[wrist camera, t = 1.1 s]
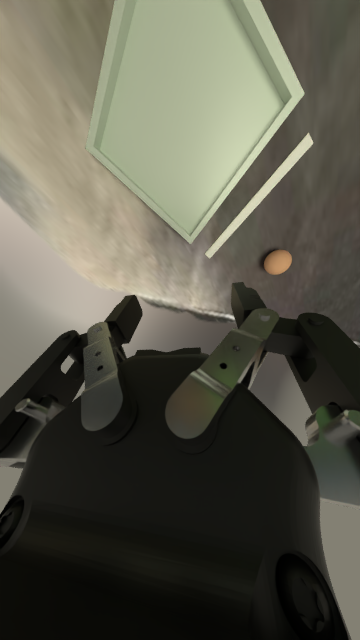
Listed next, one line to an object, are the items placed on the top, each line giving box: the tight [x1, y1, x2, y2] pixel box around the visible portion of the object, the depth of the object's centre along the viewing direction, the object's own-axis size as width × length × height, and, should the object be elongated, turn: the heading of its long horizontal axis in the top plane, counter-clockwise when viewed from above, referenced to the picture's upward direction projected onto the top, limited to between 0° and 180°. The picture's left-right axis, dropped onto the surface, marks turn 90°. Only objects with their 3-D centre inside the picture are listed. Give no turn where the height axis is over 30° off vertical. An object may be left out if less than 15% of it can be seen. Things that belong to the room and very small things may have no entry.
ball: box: [264, 250, 292, 275], centre depth 31 cm, size 5×5×5 cm
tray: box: [85, 0, 305, 244], centre depth 22 cm, size 22×22×3 cm
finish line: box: [205, 133, 313, 258], centre depth 28 cm, size 22×2×1 cm, turn 142°
